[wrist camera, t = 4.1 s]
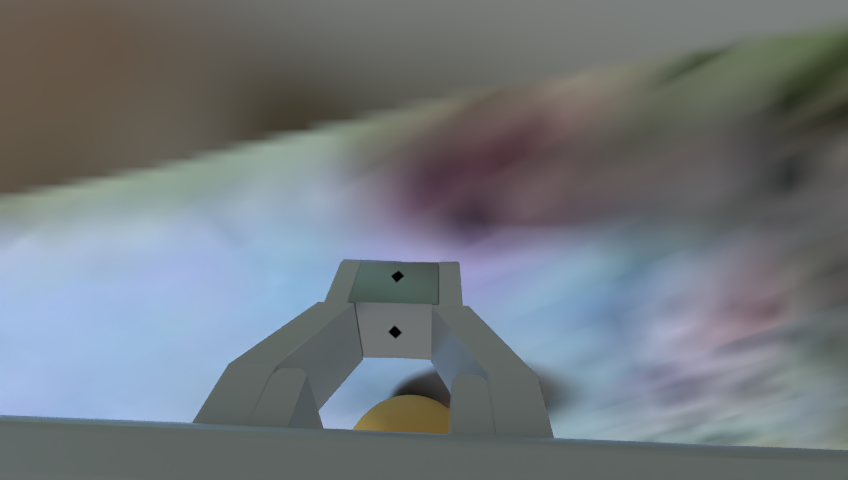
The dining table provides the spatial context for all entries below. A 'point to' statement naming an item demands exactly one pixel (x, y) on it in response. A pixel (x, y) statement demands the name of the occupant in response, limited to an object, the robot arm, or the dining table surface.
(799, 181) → the dining table surface
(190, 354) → the dining table surface
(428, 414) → the ball
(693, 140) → the dining table surface
